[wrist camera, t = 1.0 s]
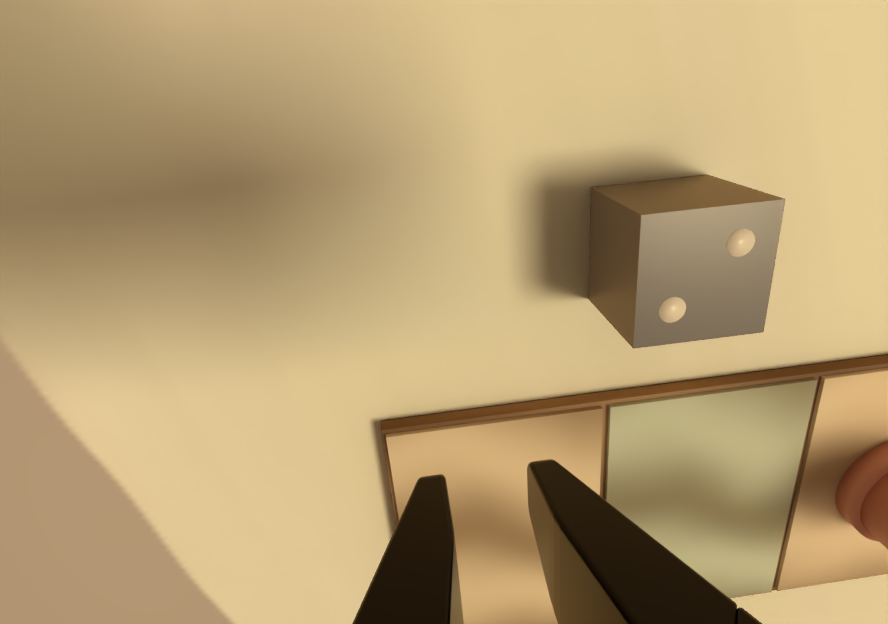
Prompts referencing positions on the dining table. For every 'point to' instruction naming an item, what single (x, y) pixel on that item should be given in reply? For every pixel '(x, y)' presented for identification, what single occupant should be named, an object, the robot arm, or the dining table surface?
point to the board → (661, 478)
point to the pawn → (866, 494)
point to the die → (682, 258)
